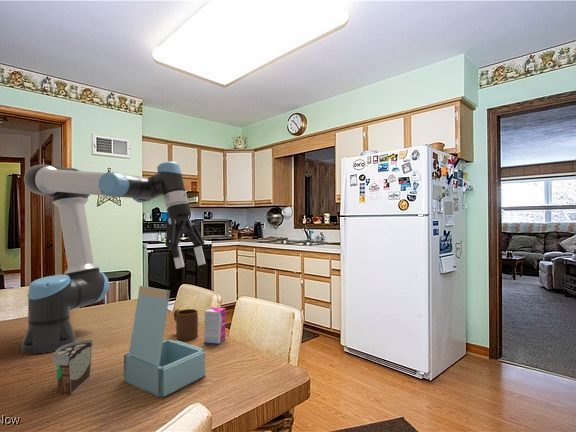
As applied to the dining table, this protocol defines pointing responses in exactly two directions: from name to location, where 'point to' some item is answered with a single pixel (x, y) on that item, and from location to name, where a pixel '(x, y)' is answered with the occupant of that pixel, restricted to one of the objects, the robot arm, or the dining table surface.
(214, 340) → the supplement box
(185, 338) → the mug
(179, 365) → the carton
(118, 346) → the dining table surface
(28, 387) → the dining table surface
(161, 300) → the flap
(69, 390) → the food container
